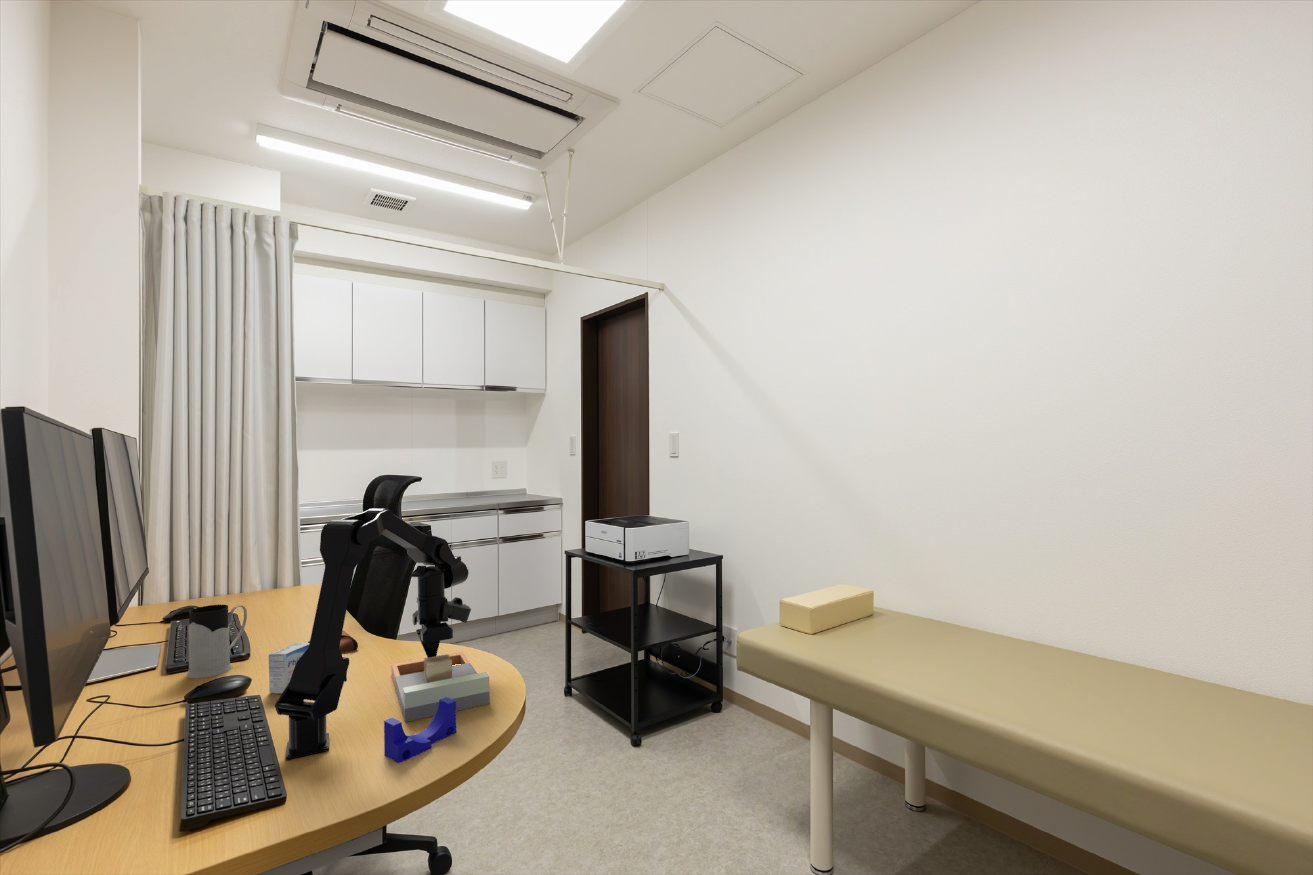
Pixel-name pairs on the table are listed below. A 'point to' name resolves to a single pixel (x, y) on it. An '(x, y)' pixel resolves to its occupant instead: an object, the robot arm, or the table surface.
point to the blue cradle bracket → (410, 746)
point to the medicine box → (284, 666)
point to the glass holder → (210, 640)
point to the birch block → (437, 668)
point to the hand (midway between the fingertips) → (432, 662)
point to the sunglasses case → (347, 643)
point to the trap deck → (435, 706)
